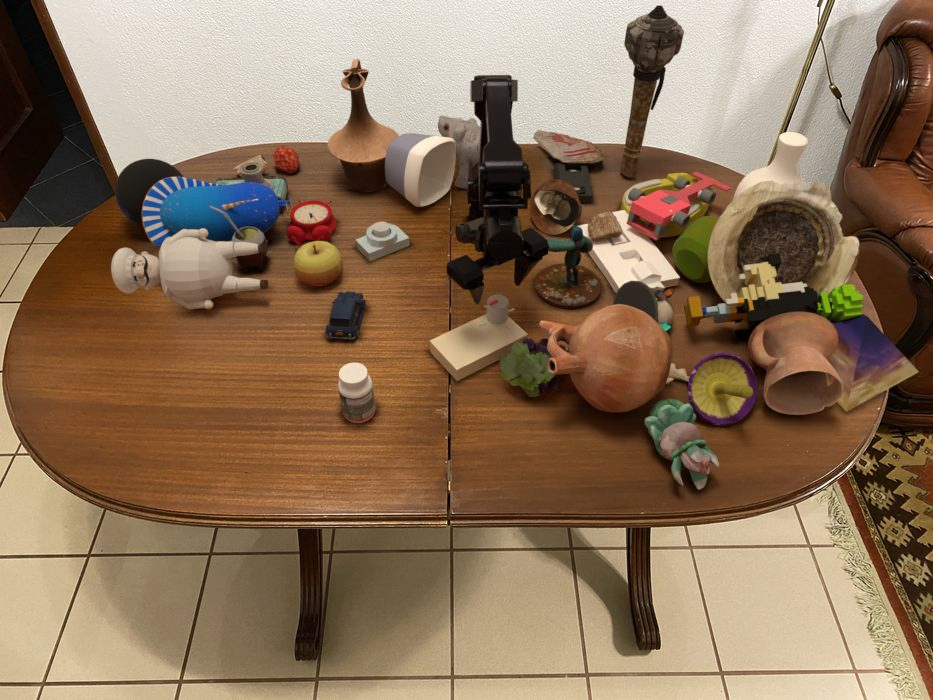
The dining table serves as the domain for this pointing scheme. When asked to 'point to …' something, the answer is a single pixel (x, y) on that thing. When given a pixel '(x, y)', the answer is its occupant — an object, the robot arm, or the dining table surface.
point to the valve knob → (497, 309)
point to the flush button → (381, 229)
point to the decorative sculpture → (866, 361)
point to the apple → (318, 263)
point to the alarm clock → (311, 222)
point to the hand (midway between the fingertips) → (497, 293)
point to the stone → (603, 226)
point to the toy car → (346, 316)
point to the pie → (782, 237)
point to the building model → (631, 258)
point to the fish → (677, 374)
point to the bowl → (421, 167)
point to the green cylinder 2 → (695, 249)
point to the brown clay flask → (361, 138)
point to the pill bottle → (356, 393)
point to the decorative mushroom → (722, 389)
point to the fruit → (530, 367)
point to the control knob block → (381, 243)
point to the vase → (779, 164)
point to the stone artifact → (568, 148)
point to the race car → (669, 204)
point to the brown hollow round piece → (555, 207)
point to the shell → (256, 159)
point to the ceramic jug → (797, 362)
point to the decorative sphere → (140, 185)
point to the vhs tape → (575, 179)
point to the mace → (647, 74)
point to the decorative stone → (286, 159)
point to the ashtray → (651, 186)
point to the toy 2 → (774, 300)
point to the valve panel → (475, 345)
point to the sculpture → (462, 144)
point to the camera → (259, 180)
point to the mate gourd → (250, 237)
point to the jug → (612, 357)
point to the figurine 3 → (647, 301)
